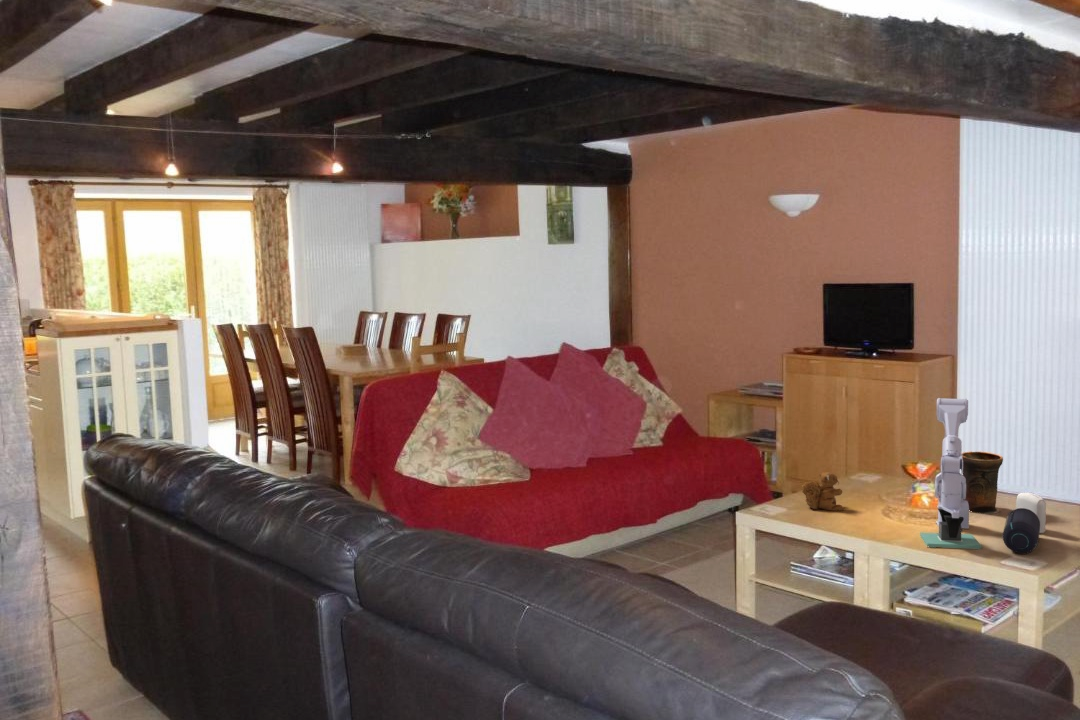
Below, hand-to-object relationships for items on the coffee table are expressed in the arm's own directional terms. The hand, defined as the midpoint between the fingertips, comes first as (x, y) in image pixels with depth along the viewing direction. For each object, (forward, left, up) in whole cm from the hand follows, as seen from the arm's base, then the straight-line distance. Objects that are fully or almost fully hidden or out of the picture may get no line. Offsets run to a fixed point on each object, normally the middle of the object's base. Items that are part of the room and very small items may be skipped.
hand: (950, 534), depth 305 cm
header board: (0, 0, -3) cm, 3 cm away
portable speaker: (-21, 0, -3) cm, 22 cm away
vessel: (-19, -43, -3) cm, 47 cm away
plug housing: (0, 0, -2) cm, 2 cm away
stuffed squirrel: (+36, -38, -3) cm, 53 cm away
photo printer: (-29, -18, -3) cm, 34 cm away
